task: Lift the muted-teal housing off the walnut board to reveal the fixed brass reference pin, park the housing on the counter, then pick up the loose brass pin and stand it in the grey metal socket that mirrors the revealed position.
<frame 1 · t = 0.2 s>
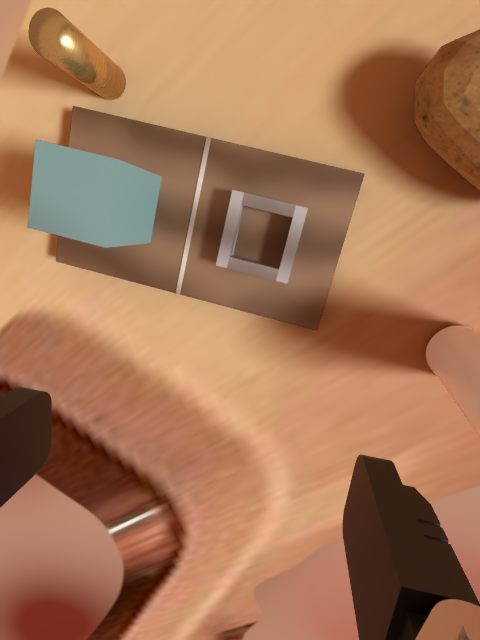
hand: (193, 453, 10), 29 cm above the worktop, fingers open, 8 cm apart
drinking glass: (452, 350, 37), on the worktop
housing: (124, 202, 35), point 2 cm above the worktop, touching layout board
pin: (109, 81, 35), on the worktop
layout board: (202, 221, 37), on the worktop
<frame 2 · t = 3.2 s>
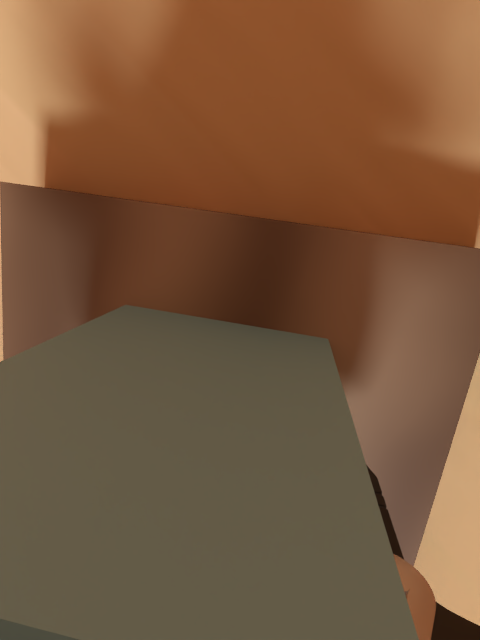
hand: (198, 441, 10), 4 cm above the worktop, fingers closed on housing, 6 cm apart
housing: (212, 414, 12), point 2 cm above the worktop, touching gripper, layout board
layout board: (202, 546, 16), on the worktop
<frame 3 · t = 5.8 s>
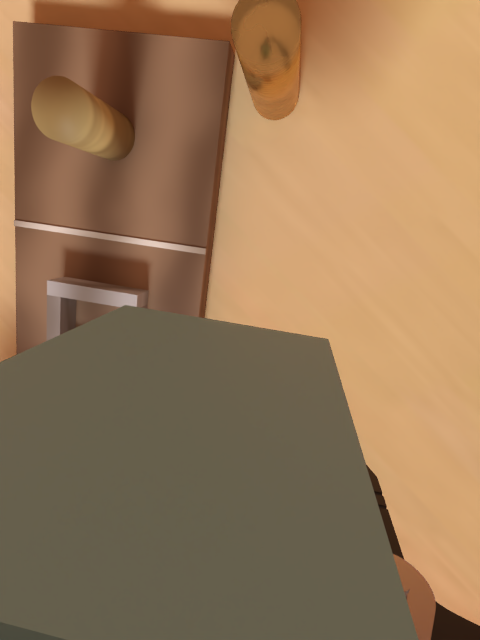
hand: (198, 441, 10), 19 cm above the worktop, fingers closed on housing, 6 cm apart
housing: (211, 414, 12), point 17 cm above the worktop, touching gripper
pin: (275, 94, 25), on the worktop
layout board: (120, 243, 29), on the worktop
when the fingers open (3 cm above the worktop, at t = 8.6 s): housing drops 1 cm, on the worktop.
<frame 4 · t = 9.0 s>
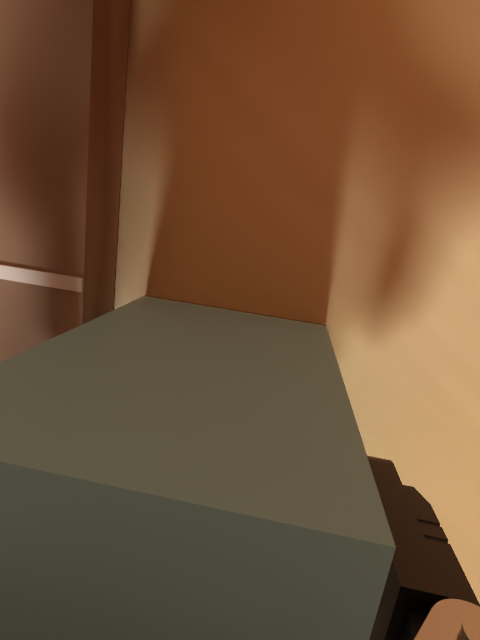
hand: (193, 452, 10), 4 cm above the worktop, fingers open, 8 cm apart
housing: (221, 394, 13), on the worktop
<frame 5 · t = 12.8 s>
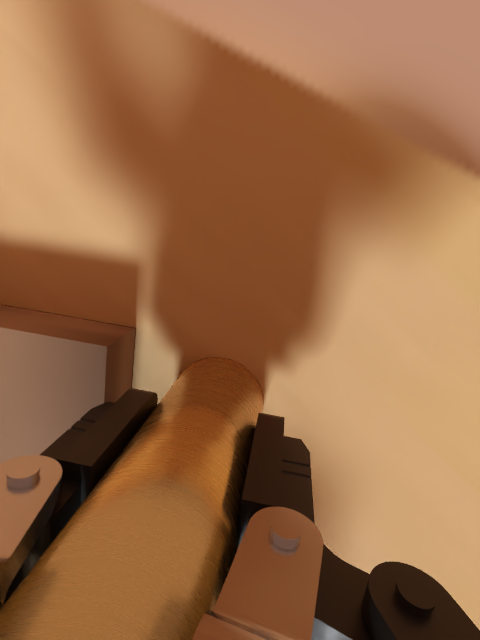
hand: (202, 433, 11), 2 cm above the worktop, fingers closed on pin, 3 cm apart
pin: (218, 400, 13), on the worktop, touching gripper
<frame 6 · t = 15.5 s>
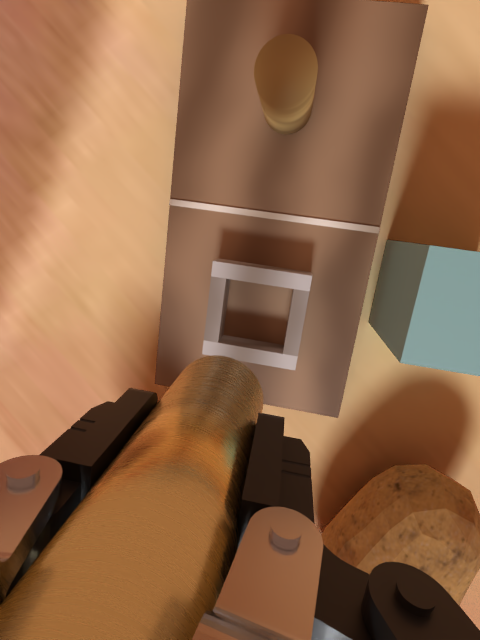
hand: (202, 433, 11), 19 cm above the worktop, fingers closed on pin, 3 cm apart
housing: (420, 288, 27), on the worktop
pin: (218, 398, 13), point 17 cm above the worktop, touching gripper
potato: (374, 512, 32), on the worktop
layout board: (272, 223, 28), on the worktop
when the fingers open (5 cm above the worktop, at t = 18.3 s): pin stays where it is, resting on layout board.
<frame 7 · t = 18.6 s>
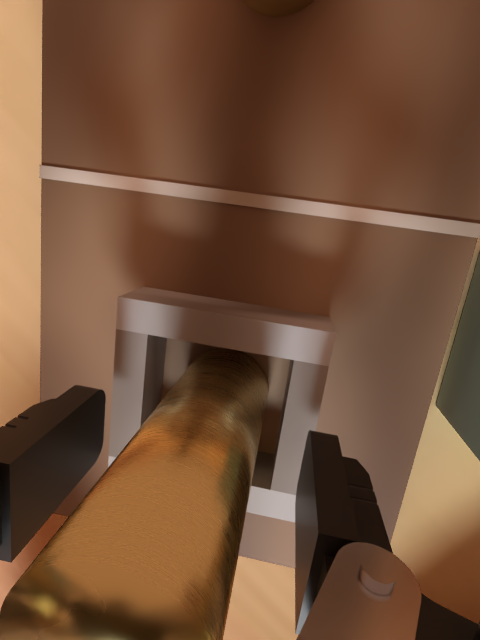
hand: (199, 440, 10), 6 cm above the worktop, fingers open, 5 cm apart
pin: (226, 387, 14), point 2 cm above the worktop, touching layout board
layout board: (252, 217, 14), on the worktop
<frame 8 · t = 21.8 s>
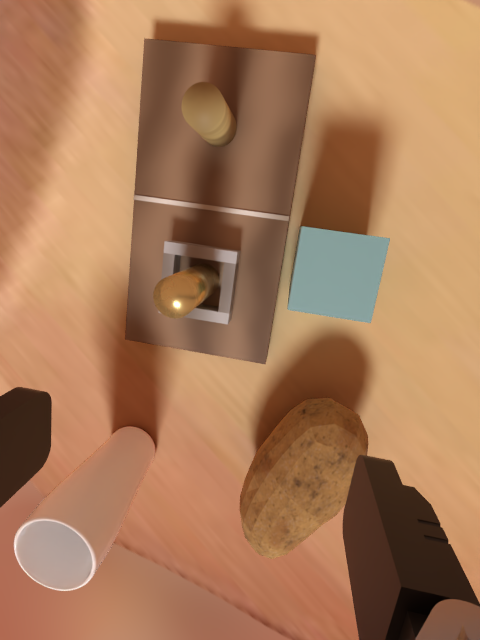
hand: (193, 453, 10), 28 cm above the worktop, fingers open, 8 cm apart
drinking glass: (135, 444, 43), on the worktop
housing: (326, 263, 36), on the worktop
pin: (203, 279, 36), point 2 cm above the worktop, touching layout board
potato: (300, 444, 41), on the worktop
layout board: (214, 214, 36), on the worktop
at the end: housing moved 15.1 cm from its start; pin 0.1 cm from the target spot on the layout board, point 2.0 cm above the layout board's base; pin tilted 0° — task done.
